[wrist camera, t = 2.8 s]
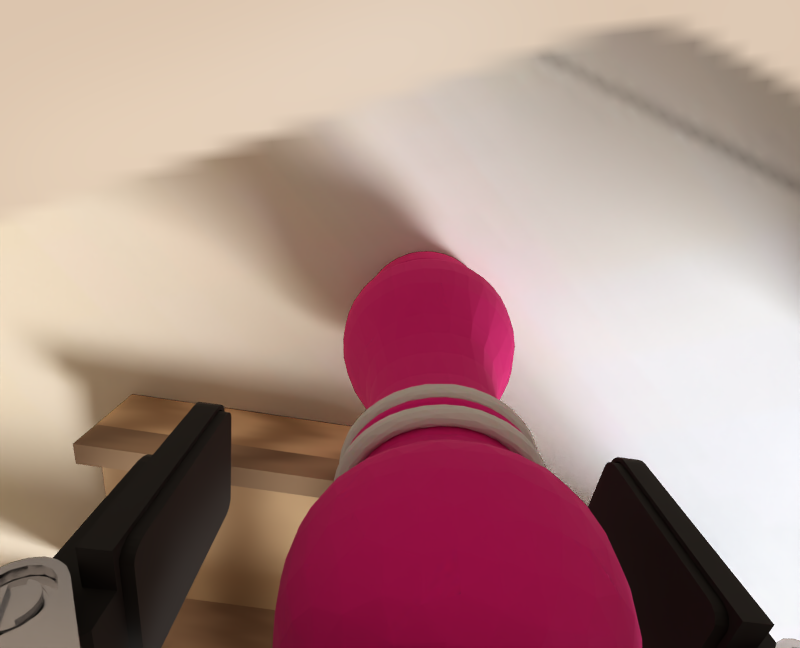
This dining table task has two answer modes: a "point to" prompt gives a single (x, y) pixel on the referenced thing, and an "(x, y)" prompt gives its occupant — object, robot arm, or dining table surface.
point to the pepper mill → (445, 494)
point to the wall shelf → (230, 509)
